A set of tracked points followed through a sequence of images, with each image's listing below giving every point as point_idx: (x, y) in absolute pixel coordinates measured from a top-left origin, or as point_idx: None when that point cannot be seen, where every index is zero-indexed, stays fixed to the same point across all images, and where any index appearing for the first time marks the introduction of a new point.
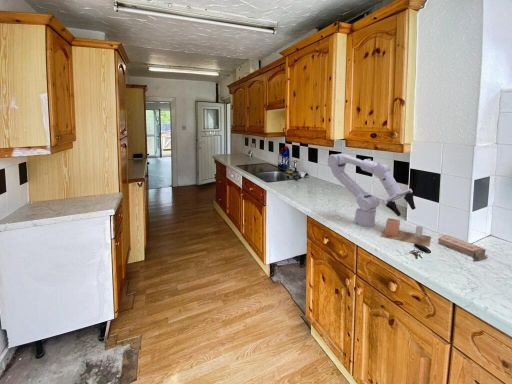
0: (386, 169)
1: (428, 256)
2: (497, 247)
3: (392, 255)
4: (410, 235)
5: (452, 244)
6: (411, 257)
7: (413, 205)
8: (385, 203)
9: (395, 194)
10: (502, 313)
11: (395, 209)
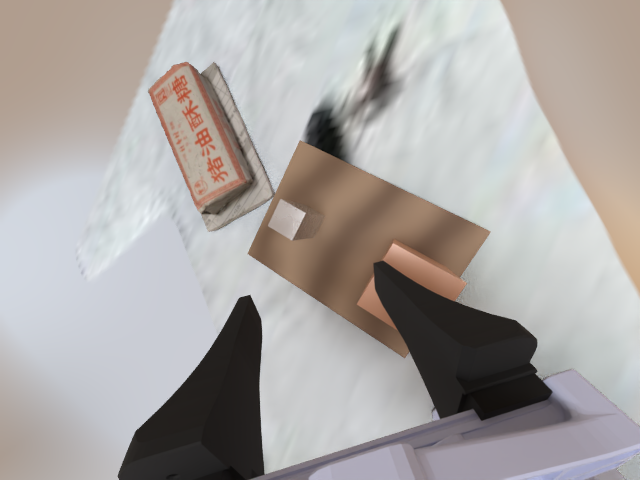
0: None
1: (336, 68)
2: (111, 202)
3: (500, 27)
4: (323, 260)
5: (221, 128)
6: (413, 34)
7: (241, 313)
8: (581, 377)
9: None
10: None
11: (427, 289)
